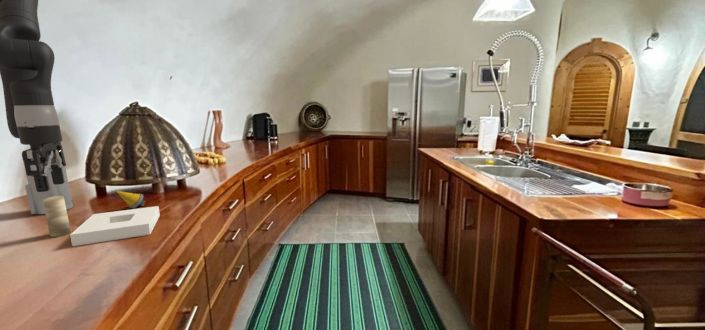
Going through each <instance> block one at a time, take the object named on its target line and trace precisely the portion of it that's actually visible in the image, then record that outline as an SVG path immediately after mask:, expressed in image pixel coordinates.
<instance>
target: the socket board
mask: <svg viewBox="0 0 705 330" xmlns="http://www.w3.org/2000/svg"><path fill="white" fill-rule="evenodd" d="M160 217H161V214H160V208H159V205H157V206H148V207H139V208H134V209H131V208H130V209H126V210H125V209H124V210H115V211H107V212H100V213H93V214H92V215H90V217H89V218H87V219H86V220H85V221H84V222H83V223H82V224H81V225H80V226H78V227H77V228H76V229H75V230H73V232H71V233H69V237H70V241H71V246H72V247H79V246H85V245H92V244H97V243H102V242H111V241H117V240H123V239H130V238H135V237H142V236H143V237H144V236H149V235H151V234H152V232H153V229H154V228H155V226H156V225H157V222H158V220H159V218H160Z"/></svg>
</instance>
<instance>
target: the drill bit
mask: <svg viewBox="0 0 705 330" xmlns="http://www.w3.org/2000/svg"><path fill="white" fill-rule="evenodd" d="M115 192H116V193H117V194H118V195H119V196H120V198H121V199H122V200H123V201H124V202H125V203H126V204H127V205H128V206H127V207H128V208H129V209H130V210H131V209H137V207H143V206H144V205H145V203H146V200H144V194H142V193H139V192H138V193H133V192H125V191H120V190H116V191H115ZM144 207H145V206H144Z"/></svg>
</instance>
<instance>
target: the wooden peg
mask: <svg viewBox="0 0 705 330" xmlns="http://www.w3.org/2000/svg"><path fill="white" fill-rule="evenodd" d="M43 205H44V209H45V214H44V215H45V217H46V218H45V219H46V222H47V223H46V224H47V227H48V232H49V236H50V237H51V238H60V237H64V236H68V235H70V234H71V233H72V230H71V227H70V226H71V225H70V221H69V220H70V219H69V215H68V210H66V205H65V200H64V196H53V197H48V198H45V199H43Z"/></svg>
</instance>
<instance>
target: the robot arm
mask: <svg viewBox="0 0 705 330" xmlns="http://www.w3.org/2000/svg"><path fill="white" fill-rule="evenodd" d="M38 7H39V0H0V79H1V83H2V89H3V96H4V97H3V98H4V104H5V105H4V108H5V112H6V113H5V116H6V123H7V127H8V131H9V132H10V135H11V136H12V137H13V138H15V139H19V143H20V145H24V146H25V145H27V146H28V145H29V146H30V148H28V149H24V150H22V152H21V158H22V161H23V166H24V171H25V175H26V180H27V184H25V186H24V188H25V193H26V196H27V201H28V205H29V210H30V215H46V214H45V209H44V205H43V199H45V198H48V197H53V196H64V200H65V205H66V210H67V211H68V210H70V209H72V208H73V207H74V206H73V200H72V195H71V189H70V184H69V179H68V174H67V169H66V166H67V163H66V158H65V154H64V150H63V146H62V142H63V136H62V135H63V134H62V131H61V127H60V121H59V117H58V113H57V109H56V108H55V103H54V96H53V93H52V74H53V70H54V66H55V65H54V64H55V53H54V50H53V49H52V48H51V46H50V45H49V44H48V43H46V42H44V41H41V29H40V24H39V18H38Z"/></svg>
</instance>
